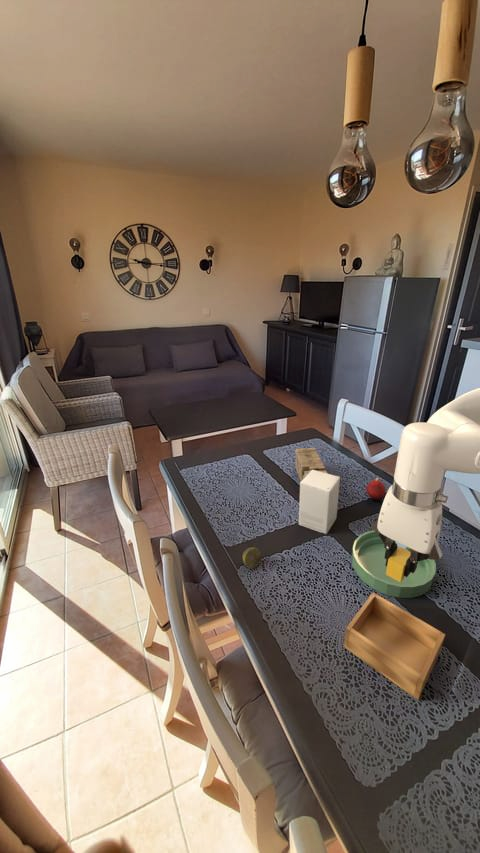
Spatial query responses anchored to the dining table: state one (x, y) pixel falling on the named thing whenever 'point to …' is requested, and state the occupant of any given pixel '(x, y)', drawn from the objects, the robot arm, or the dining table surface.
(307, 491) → the white product box
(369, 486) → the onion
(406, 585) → the bowl
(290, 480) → the dining table surface
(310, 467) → the block tower
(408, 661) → the holder
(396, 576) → the yellow small block
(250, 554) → the lime
